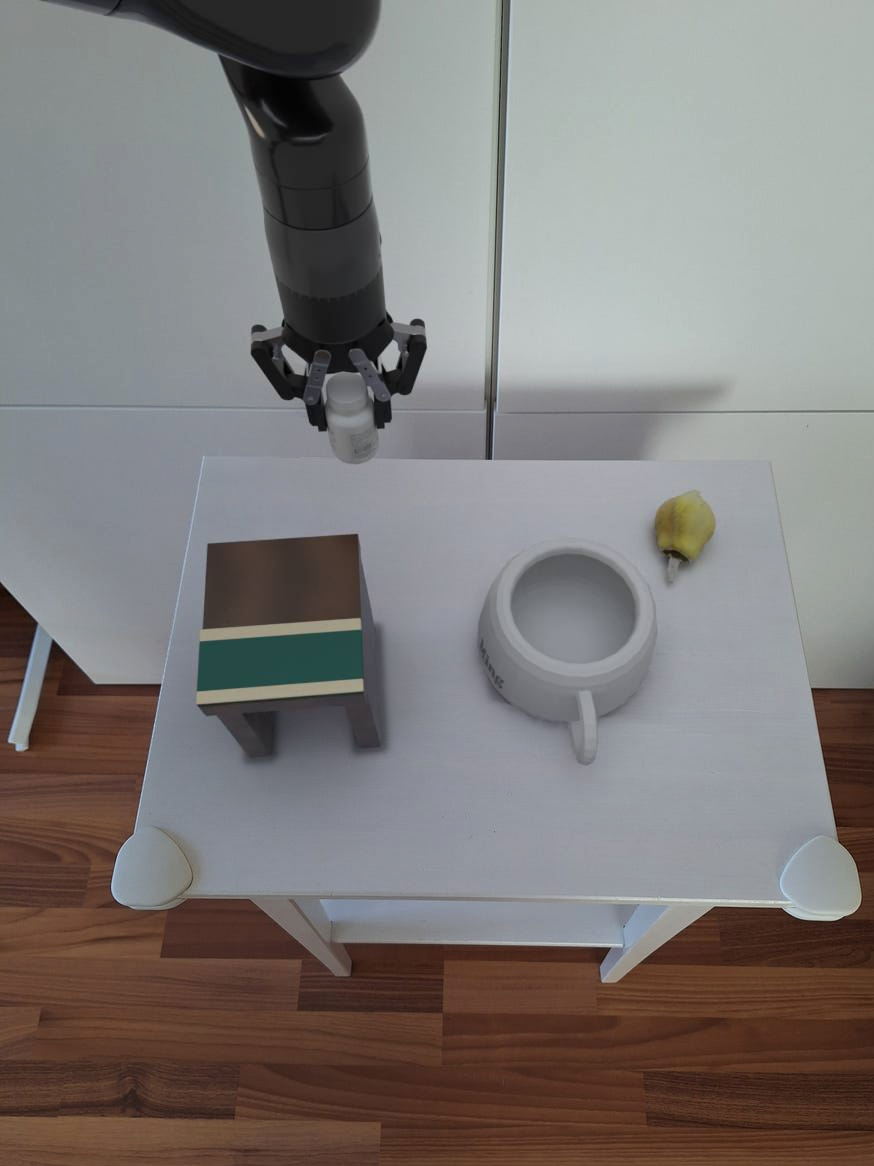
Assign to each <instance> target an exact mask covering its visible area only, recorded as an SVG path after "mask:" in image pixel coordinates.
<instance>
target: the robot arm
mask: <svg viewBox="0 0 874 1166" xmlns="http://www.w3.org/2000/svg"><path fill="white" fill-rule="evenodd" d="M39 1H40V2H43V3H46V4H47V3H48V4H52V5H57V6H60V7H64V8H70V9H74V10H78V11H82V12H87V13H90V14H95V15H99V16H104V17H109V18H113V19H121V20H128V21H134V22H138V23H142V24H145V25H148V26H151V27H154V28H157V29H160V30H162V31H165V32H167V33H169V34H172V35H174V36H175V37H178V38H180V39H182V40H184V41H186V42H189V43H191V44H193V45H195V46H198V47H200V48H202V49H205V50H207V51H210V52H212V53H215V54H217V58H218V61H219V63H220V65H221V68H222V70H223V73H224V75H225V78H226V81H227V83H228V86H229V88H230V91H231V93H232V96H233V97H234V101H235V102H236V105H237V106H238V109H239V111H240V113H241V116H242V119H243V121H244V124H245V127H246V130H247V131H246V132H247V135H248V140H249V147H250V153H251V158H252V162H253V167H254V171H255V177H256V180H257V184H258V185H257V186H258V189H259V193H260V198H261V204H262V211H263V227H264V233H265V238H266V243H267V247H268V251H269V252H268V253H269V257H270V260H271V265H272V266H271V267H272V269H273V274H274V279H275V282H276V287H277V291H278V296H279V301H280V304H281V305H280V306H281V310H282V314H283V319H282V321H281V326H278V327H274V328H271V329H267V327H266V326H265V325H262V324H253V326H252V327H251V329H250V356H251V358H252V359H253V360H254V362H255V363H256V365H257V366H258V368H260V370H261V372H262V373H263V374H264V376H265V378H266V379H267V380H268V382H269V383H270V384H271V386H272V387H273V389H274V391H275V392H276V394H277V395H278V396H279V398H280V399H282V400H283V401H293V400H294V399H295V398H297V399H299V400H302V402H304V405H305V411H306V414H307V419H308V423H309V424H310V425H311V426H312V427H317V430H318V433H324V432H328V430H327V424H326V419H325V413H324V407H325V403H326V402H325V398H324V394H323V388H324V383H325V379H326V376H327V375H335V374H337V373H340V372H350V373H356V374H359V375H360V376H361V377H362V378H363V380H364V381H365V383H366V385H367V387H369V388H370V389H371V391H372V393H373V402H374V407H375V415H376V424H377V429H378V430H383V429H385V430H386V425H385V424H389V423H391V422H392V420H393V412H392V399H391V398H392V397H393V396H394V395H396V394H399V395H401V396H408V395H410V394H411V393H412V391H413V389H414V386H415V384H416V380H417V379H418V375H419V373H420V370H421V367H422V364H423V361H424V359H425V355H426V353H427V349H428V342H427V339H428V338H427V331H426V322H425V321H424V320H423V319H421V318H413V319H412V320H411V321H410V322H409V324H405V323H400V322H395V321H394V319H393V317H392V316H391V314H390V313H389V312H388V310H387V307H386V296H385V295H386V294H385V281H384V271H383V270H384V269H383V260H382V259H383V256H382V244H383V240H382V234H381V231H380V224H379V217H378V213H377V208H376V204H375V200H374V199H375V198H374V193H373V184H372V183H373V182H372V172H371V161H370V149H369V138H368V132H367V127H366V121H365V117H364V113H363V110H362V107H361V105H360V103H359V101H358V99H357V98H356V96H355V95H354V93H353V92H352V91H351V89H350V88H349V86H348V84H347V83H346V82H345V80H344V78H343V77H342V76H341V74H344V73H345V72H347V71H348V70H350V69H351V68H353V67H354V66H355V65H356V64H357V63H359V62H360V61H361V60H362V58H363V57H364V56H365V55H366V53H368V51H369V49H370V48H371V46H372V44H373V42H374V40H375V38H376V35H377V34H378V30H379V26H380V22H381V17H382V8H383V0H39ZM393 341H395V342H396V343H397V350H398V351H399V352H400V353H399V357H398V359H397V362H396V366H395V369H392V370H388V368H387V366H386V364H385V362H384V361H383V358H382V354H383V353H384V351H385V350H386V349H387V348H388V347H389V346H390V344H391V343H392V342H393ZM284 346H286V347H287V348H288V349H289V350H291V351H292V352H293V353H294V354H295V355H297V356H298V357H299V358H300V359H302V360H303V361H304V362H305V364H304V370H303V374H297V373H295V371H294V369H293V367H292V366H291V364H290V362H289V360H288V359H287V357H286V356H285V355H284Z"/></svg>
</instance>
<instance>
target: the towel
mask: <svg viewBox="0 0 874 1166" xmlns="http://www.w3.org/2000/svg"><path fill="white" fill-rule="evenodd" d="M198 640H199V645H198V661H197V662H198V663H197V679H196V680H197V681H196V694H195V695H196V696H195V697H196V698H195V704H196V706H197V707H198V708H199V707H203V706H215V705H228V704H241V703H253V702H266V701H278V700H291V699H304V698H316V697H329V696H341V695H354V694H364V676H363V651H362V625H361V618H353V619H339V620H325V621H312V622H298V623H284V624H270V625H257V626H243V627H229V628H215V629H203V628H202V629H199V639H198Z"/></svg>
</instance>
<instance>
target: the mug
mask: <svg viewBox="0 0 874 1166" xmlns="http://www.w3.org/2000/svg"><path fill="white" fill-rule="evenodd" d="M656 606H657V604H656V601H655V599H654V596H653V593H652V590H651V587H650V586H649V583H648V582H647V580H646V579H645V577H644V576H643V574H642V573H641V571H640V570H639V569H638V568H637V566H636V565H635V564H634V563H633V562H632V561H630V560H629V559H628V558H627V557H626V556H624V555H623V553H621V552H619V551H617V550H615V549H614V548H612V547H611V546H608V545H606V544H605V543H603V542H599V541H595V540H591V539H588V538H585V537H568V536H562V537H557V538H551V539H546V540H543V541H540V542H538V543H536V544H533V545H530V546H528V547H526V548H524V549H522V550H521V551H519V553H517V554H516V555H515V556H513V557H512V558H511V559H510V560H508V561H507V563H506V564H505V565H504V566H503V568H502V569H501V570H500V572H499V573H498V574H497V576H496V577H495V579H494V580H493V582H492V583H491V584H490V586H489V588H488V591H487V594H486V597H485V599H484V603H483V605H482V608H481V611H480V614H479V618H478V622H477V641H476V645H477V649H478V653H479V657H480V661H481V665H482V667H483V669H484V671H485V674H486V675H487V677H488V679H489V680H490V682H491V684H492V685H493V687H494V689H495V690H496V691H497V692H498V693H499V695H501V696H502V697H503V698H504V699H505V700H506V701H507V703H509V704H510V705H511V706H513V707H515V708H516V709H518V710H520V711H521V712H523V713H525V714H527V715H528V716H530V717H533V718H537V719H540V720H544V721H546V722H550V723H557V724H558V723H561V724H564V723H566V724H567V727H568V732H569V739H570V743H571V747H572V751H573V754H574V756H575V758H576V761H577V763H578V764H579V765H582V766H585V767H587V766H589V765H591V764H593V763H594V761H596V756H597V752H598V743H599V742H598V738H599V737H598V736H599V735H598V719H599V718H600V717H602V716H604V715H607V714H609V713H610V712H613V711H614V710H616V709H618V708H619V707H621V706H622V705H623V704H624V703H625V702H626V701H627V700H628V699H629V698H631V697H632V696H633V695H634V694H635V693H636V692H637V691H638V689H639V688H640V686H641V684H642V682H643V681H644V679H645V677H646V675H647V673H648V671H649V668H650V666H651V664H652V658H653V656H654V655H653V654H654V650H655V647H656V642H657V637H658V619H657V607H656Z"/></svg>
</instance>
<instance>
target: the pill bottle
mask: <svg viewBox="0 0 874 1166" xmlns="http://www.w3.org/2000/svg"><path fill="white" fill-rule="evenodd" d="M325 393H326V394H325V395H326V400H325V402H324V403H325V407H324V413H325V419H326V424H327V433H328V434H327V435H328V439H329V444H330V448H331V452H332V454H333V455H334V456H335V458H336V459H338V460H339V461H341V462H342V463H345V464H349V465H361V464H364V463H367V462H369V461H370V460H372V459H373V458H374V457H375V456H376V454H377V453H378V451H379V448H380V438H379V429H377V424H376V415H375V407H374V399H373V398H372V397H371V395H369V389H368V386H367V385H366V383H365V381H364V380H363V378H362V376H361V374H359V373H350V372H339V373H335V374H333V375H332V376H331V377H330V378H329V379H328V380H327V382H326V384H325Z"/></svg>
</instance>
